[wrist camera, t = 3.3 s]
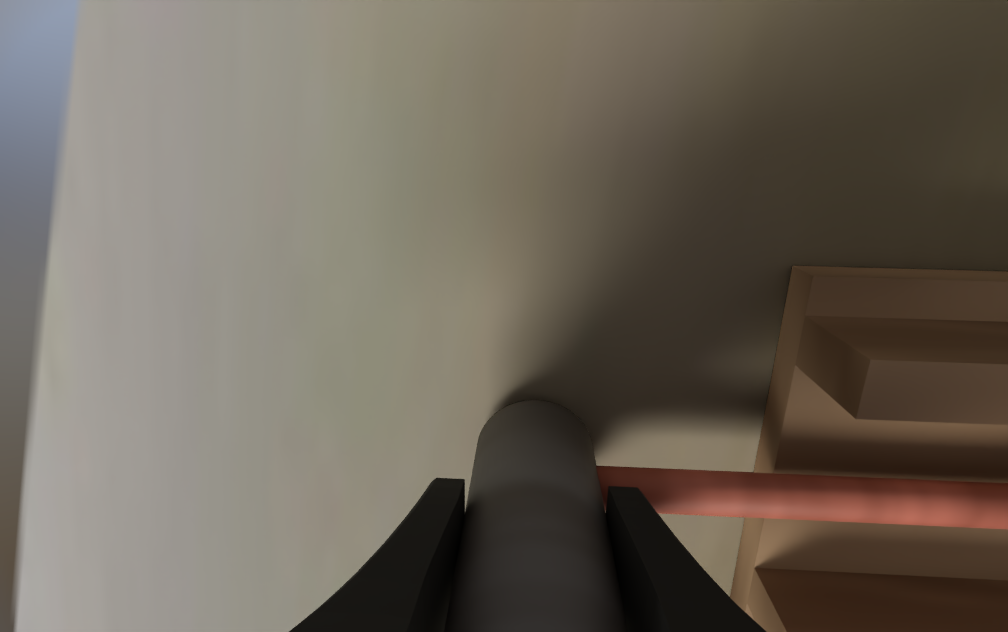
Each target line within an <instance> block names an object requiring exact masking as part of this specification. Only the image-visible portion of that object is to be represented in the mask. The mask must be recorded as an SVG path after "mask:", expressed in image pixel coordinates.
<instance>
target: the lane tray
mask: <svg viewBox="0 0 1008 632" xmlns="http://www.w3.org/2000/svg"><path fill="white" fill-rule="evenodd" d="M754 473H778V474H801V475H825V476H848V477H872V478H895V479H918V480H942V481H965V482H989V483H1008V271H971V270H934V269H898V268H861V267H824V266H792V271H791V276H790V282H789V287H788V292H787V298H786V303H785V308H784V314H783V319H782V324H781V329H780V335H779V340H778V345H777V351H776V356H775V361H774V367H773V372H772V377H771V383H770V388H769V393H768V398H767V404H766V409H765V414H764V420H763V425H762V430H761V436H760V441H759V446H758V452H757V457H756V462H755V467H754ZM730 598H731V599H732V600H733V601H734V602H735V603H736V604H737V605H738V606H739V607H740V608H741V609H742V610H743V611H744V612H746V613H747V614H748V615H749V616H750V617H751V618H752V619H753V620H754V621H755V622H757V623H758V624H759V625H760V626H761V627H762V628H763V629H764V630H765V631H766V632H1008V529H988V528H966V527H945V526H923V525H901V524H879V523H858V522H836V521H814V520H793V519H771V518H749V517H745V521H744V526H743V531H742V536H741V542H740V547H739V552H738V558H737V563H736V568H735V574H734V579H733V584H732V589H731V595H730Z"/></svg>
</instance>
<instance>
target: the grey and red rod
mask: <svg viewBox="0 0 1008 632" xmlns="http://www.w3.org/2000/svg"><path fill="white" fill-rule="evenodd" d="M608 486H619V487H638V488H639V490H640V491H641V492H642V493H643V494H644V496H645V497H646V498H647V500H648V501H649V502H650V504H651V505H652V506H653V508H654V509H655V510H656V512H657V513H662V514H684V515H706V516H728V517H749V518H771V519H793V520H814V521H836V522H858V523H879V524H901V525H923V526H945V527H966V528H988V529H1008V483H989V482H965V481H942V480H918V479H895V478H872V477H848V476H825V475H801V474H778V473H754V472H731V471H707V470H684V469H661V468H637V467H614V466H596V461H595V456H594V450H593V445H592V440H591V437H590V434H589V432H588V430H587V428H586V427H585V425H584V424H583V422H582V421H581V420H580V419H579V418H578V417H577V416H576V415H575V414H574V413H572V412H571V411H569V410H568V409H566V408H564V407H562V406H560V405H557V404H555V403H551V402H547V401H540V400H528V401H521V402H517V403H514V404H511V405H509V406H506V407H504V408H503V409H501V410H499V411H498V412H497V413H495V414H494V415H493V416H492V417H491V418H490V419H489V420H488V421H487V423H486V424H485V425H484V427H483V429H482V430H481V433H480V435H479V439H478V443H477V449H476V454H475V460H474V466H473V471H472V477H471V483H470V488H469V494H468V499H467V505H466V511H465V516H464V522H463V528H462V533H461V539H460V544H459V550H458V556H457V561H456V567H455V573H454V578H453V584H452V589H451V595H450V601H449V606H448V612H447V618H446V623H445V629H444V632H628V629H627V624H626V619H625V613H624V608H623V603H622V598H621V592H620V587H619V582H618V577H617V571H616V566H615V561H614V556H613V550H612V545H611V540H610V535H609V529H608V524H607V519H606V513H605V511H606V505H607V495H608Z"/></svg>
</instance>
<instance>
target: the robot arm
mask: <svg viewBox="0 0 1008 632" xmlns="http://www.w3.org/2000/svg"><path fill="white" fill-rule="evenodd" d="M464 516H465V479H448V478H436V479H435V480H433V481H432V482H431V483H430V485H429V486H428V488H427V489H426V491H425V492H424V494H423V495H422V496H421V498H420V499H419V500H418V502H417V503H416V505H415V506H414V507H413V508H412V510H411V511H410V512H409V514H408V515H407V516H406V517H405V519H404V520H403V521H402V522H401V524H400V525H399V526H398V527H397V528H396V530H395V531H394V532H393V533H392V534H391V536H390V537H389V538H388V539H387V540H386V541H385V543H384V544H383V545H382V546H381V547H380V548H379V549H378V550H377V551H376V552H375V553H374V555H373V556H372V557H371V558H370V559H369V560H368V561H367V562H366V563H365V564H364V565H363V566H362V567H361V568H360V569H359V571H358V572H357V573H356V574H355V575H354V576H353V577H351V578H350V579H349V580H348V581H347V582H346V583H345V584H344V585H343V586H342V587H341V588H340V589H339V590H338V591H337V592H336V593H335V594H333V595H332V596H331V597H330V598H329V599H328V600H327V601H326V602H325V603H323V604H322V605H321V606H320V607H319V608H318V609H316V610H315V611H314V612H313V613H312V614H310V615H309V616H308V617H307V618H305V619H304V620H303V621H302V622H301V623H299V624H298V625H297V626H296V627H294V628H293V629H292V630H291V631H289V632H444V629H445V623H446V618H447V612H448V606H449V601H450V595H451V589H452V584H453V578H454V573H455V567H456V561H457V556H458V550H459V544H460V539H461V533H462V528H463V522H464ZM606 519H607V524H608V529H609V535H610V540H611V545H612V550H613V556H614V561H615V566H616V571H617V577H618V582H619V587H620V592H621V598H622V603H623V608H624V613H625V619H626V624H627V629H628V632H766V631H765V630H764V629H763V628H762V627H761V626H760V625H759V624H758V623H757V622H755V621H754V620H753V619H752V618H751V617H750V616H749V615H748V614H747V613H746V612H744V611H743V610H742V609H741V608H740V607H739V606H738V605H737V604H736V603H735V602H734V601H733V600H732V599H731V598H730V597H729V596H728V595H727V594H726V593H725V592H724V591H723V590H722V589H721V588H720V586H719V585H718V584H717V583H716V582H715V581H714V580H713V579H712V578H711V577H710V576H709V575H708V574H707V573H706V571H705V570H704V569H703V568H702V567H701V566H700V565H699V564H698V562H697V561H696V560H695V559H694V558H693V556H692V555H691V554H690V553H689V552H688V551H687V549H686V548H685V547H684V546H683V545H682V543H681V542H680V541H679V540H678V539H677V537H676V536H675V535H674V534H673V532H672V531H671V530H670V529H669V527H668V526H667V525H666V524H665V522H664V521H663V520H662V518H661V517H660V516H659V514H658V513H657V512H656V510H655V509H654V508H653V506H652V505H651V504H650V502H649V501H648V500H647V498H646V497H645V496H644V494H643V493H642V492H641V491H640V490H639V488H638V487H619V486H608V495H607V505H606Z"/></svg>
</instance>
